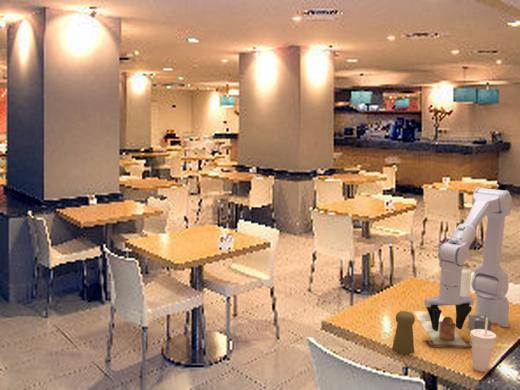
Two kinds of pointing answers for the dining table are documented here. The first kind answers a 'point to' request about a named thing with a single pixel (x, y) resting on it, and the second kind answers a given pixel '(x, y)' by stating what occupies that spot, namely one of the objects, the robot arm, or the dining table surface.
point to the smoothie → (482, 347)
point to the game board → (434, 334)
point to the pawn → (447, 329)
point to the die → (478, 322)
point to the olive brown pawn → (404, 333)
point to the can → (465, 281)
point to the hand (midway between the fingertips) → (446, 328)
